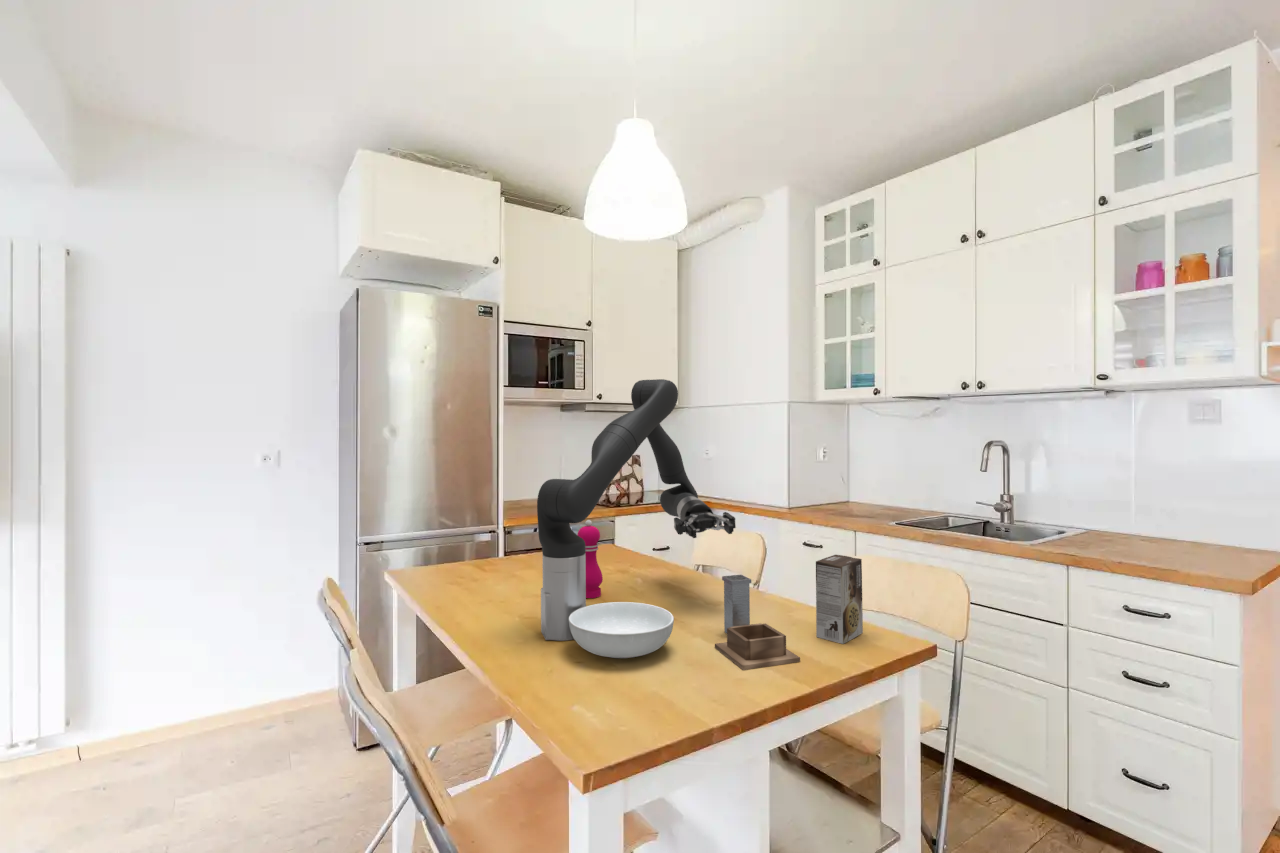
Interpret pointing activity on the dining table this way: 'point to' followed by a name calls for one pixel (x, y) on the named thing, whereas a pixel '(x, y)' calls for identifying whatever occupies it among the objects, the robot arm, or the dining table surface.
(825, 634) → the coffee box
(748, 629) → the box
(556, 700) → the dining table surface
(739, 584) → the grey square peg
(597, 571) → the pepper mill
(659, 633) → the serving bowl
